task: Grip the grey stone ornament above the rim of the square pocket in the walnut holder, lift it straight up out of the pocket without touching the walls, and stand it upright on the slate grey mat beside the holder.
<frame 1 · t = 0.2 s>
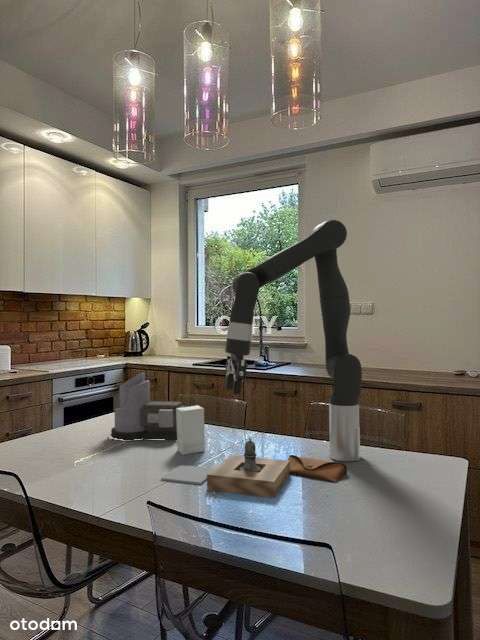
hand: (232, 391, 139), 22 cm above the table, tool pointing down, fingers open, 8 cm apart
skincare box: (190, 452, 155), on the table
grey stone ornament: (250, 482, 126), resting in pocket holder
pocket holder: (250, 481, 126), on the table
grey mat: (190, 475, 131), on the table
sunglasses case: (312, 476, 132), on the table
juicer: (146, 436, 177), on the table
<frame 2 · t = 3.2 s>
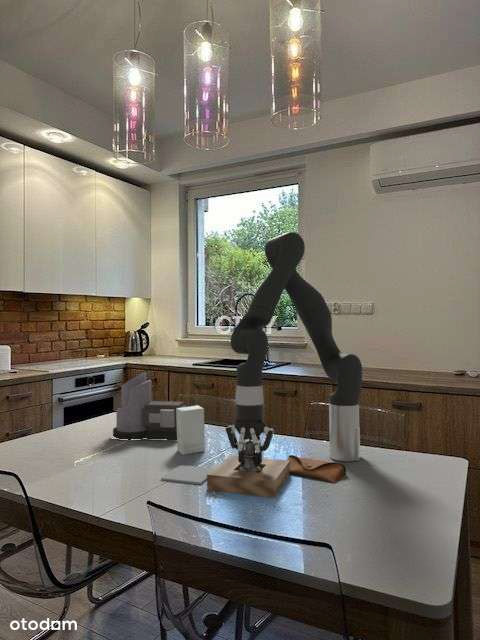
hand: (250, 464, 126), 5 cm above the table, tool pointing down, fingers closed on grey stone ornament, 3 cm apart
grey stone ornament: (250, 482, 126), resting in pocket holder, touching gripper
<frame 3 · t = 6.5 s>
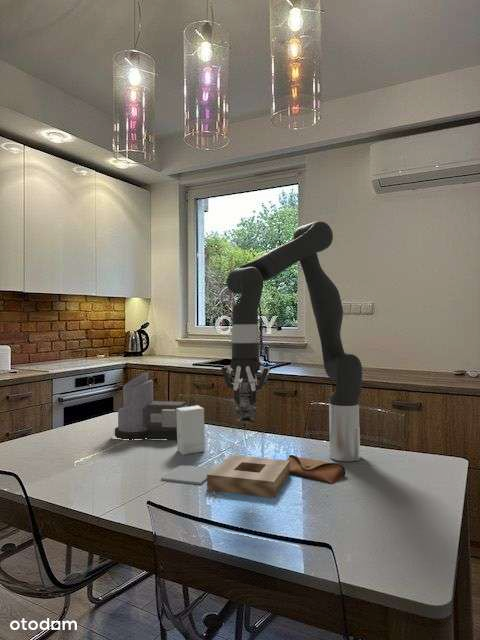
hand: (245, 403, 126), 21 cm above the table, tool pointing down, fingers closed on grey stone ornament, 3 cm apart
grey stone ornament: (246, 421, 126), point 16 cm above the table, touching gripper
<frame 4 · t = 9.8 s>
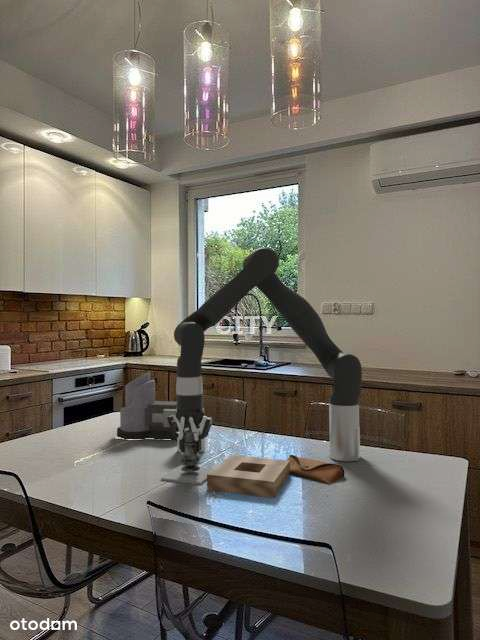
hand: (190, 452, 131), 7 cm above the table, tool pointing down, fingers closed on grey stone ornament, 3 cm apart
grey stone ornament: (190, 469, 131), point 2 cm above the table, touching gripper
when the fingers open (7 cm above the table, at t = 10.0 s): grey stone ornament drops 1 cm, resting on grey mat.
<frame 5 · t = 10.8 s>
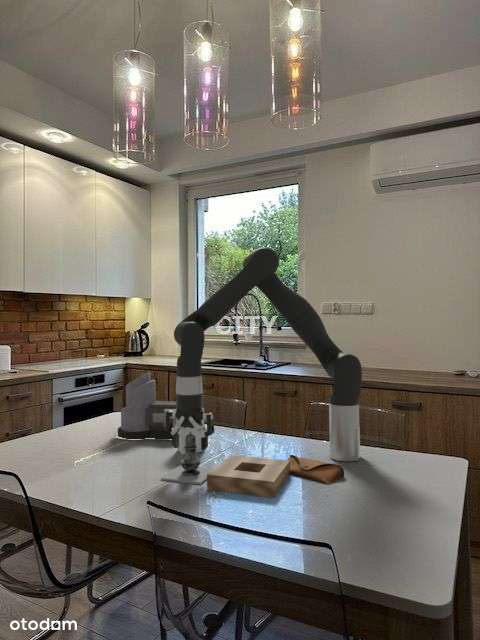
hand: (189, 448, 131), 8 cm above the table, tool pointing down, fingers open, 8 cm apart
grey stone ornament: (190, 473, 131), resting on grey mat
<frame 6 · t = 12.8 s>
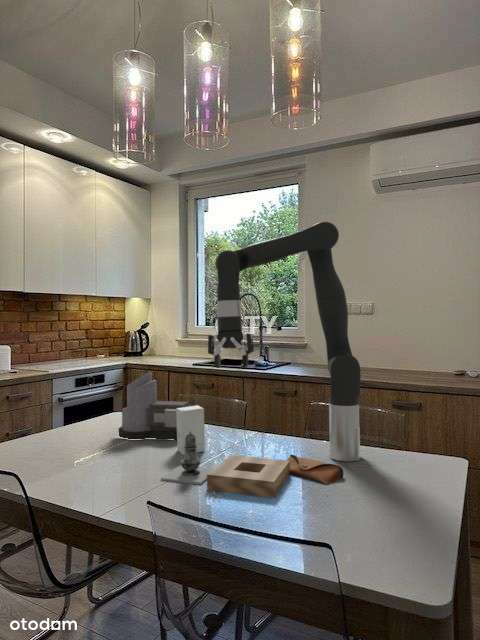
hand: (231, 367, 143), 29 cm above the table, tool pointing down, fingers open, 8 cm apart
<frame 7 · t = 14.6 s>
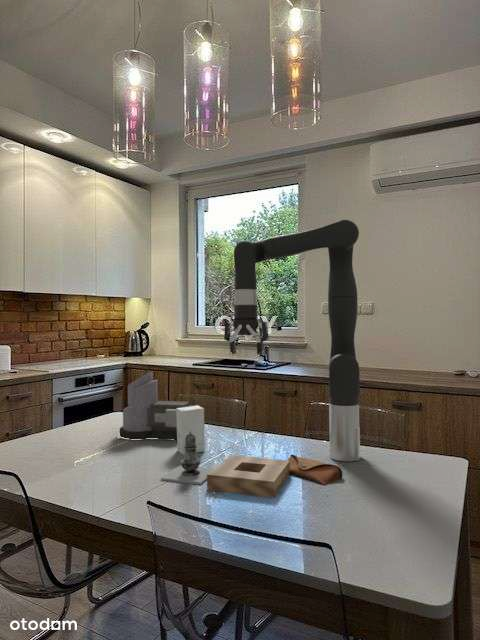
hand: (246, 354, 149), 33 cm above the table, tool pointing down, fingers open, 8 cm apart
at the end: grey stone ornament inside the target area on the grey mat (0.2 cm from its centre), point 0.4 cm above the grey mat's base; grey stone ornament tilted 0°; the gripper is holding nothing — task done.
